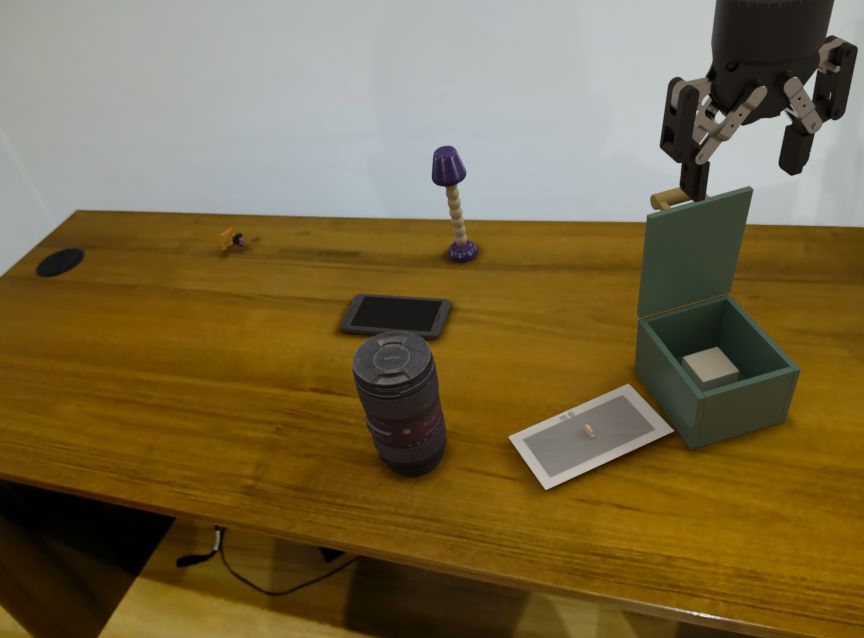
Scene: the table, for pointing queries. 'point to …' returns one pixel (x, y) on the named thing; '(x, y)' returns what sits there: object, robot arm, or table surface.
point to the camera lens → (401, 401)
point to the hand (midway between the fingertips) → (742, 183)
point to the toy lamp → (453, 199)
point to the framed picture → (232, 239)
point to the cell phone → (396, 315)
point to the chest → (725, 406)
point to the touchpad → (589, 435)
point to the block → (710, 369)
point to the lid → (691, 248)
